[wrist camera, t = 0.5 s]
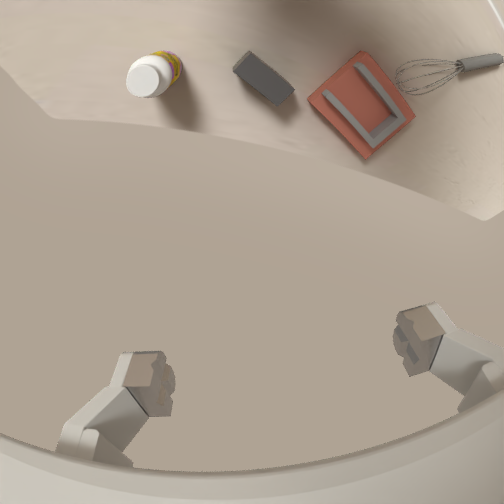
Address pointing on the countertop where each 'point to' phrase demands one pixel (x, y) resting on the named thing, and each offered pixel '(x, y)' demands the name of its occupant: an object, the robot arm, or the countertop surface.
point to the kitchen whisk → (459, 67)
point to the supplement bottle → (153, 74)
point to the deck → (362, 104)
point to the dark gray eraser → (263, 78)
